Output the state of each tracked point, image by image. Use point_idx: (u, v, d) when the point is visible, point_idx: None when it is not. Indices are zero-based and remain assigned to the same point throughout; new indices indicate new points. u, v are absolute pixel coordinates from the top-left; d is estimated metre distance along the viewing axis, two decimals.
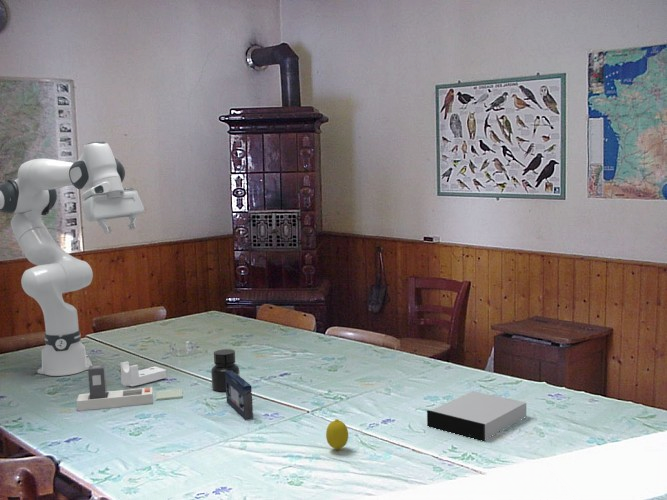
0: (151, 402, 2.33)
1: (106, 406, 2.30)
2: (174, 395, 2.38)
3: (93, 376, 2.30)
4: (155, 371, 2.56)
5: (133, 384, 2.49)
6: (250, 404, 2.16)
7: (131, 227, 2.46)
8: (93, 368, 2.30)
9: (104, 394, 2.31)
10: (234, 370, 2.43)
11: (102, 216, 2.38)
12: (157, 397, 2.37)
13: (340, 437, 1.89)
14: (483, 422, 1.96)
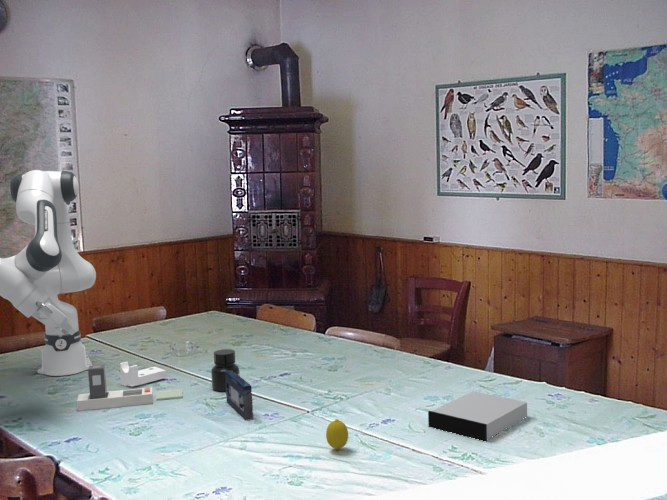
0: (151, 402, 2.33)
1: (106, 406, 2.30)
2: (174, 395, 2.38)
3: (93, 376, 2.30)
4: (154, 372, 2.56)
5: (133, 384, 2.49)
6: (250, 404, 2.16)
7: None
8: (93, 368, 2.30)
9: (104, 394, 2.31)
10: (234, 370, 2.43)
11: (49, 326, 2.32)
12: (157, 397, 2.37)
13: (340, 437, 1.89)
14: (484, 423, 1.96)
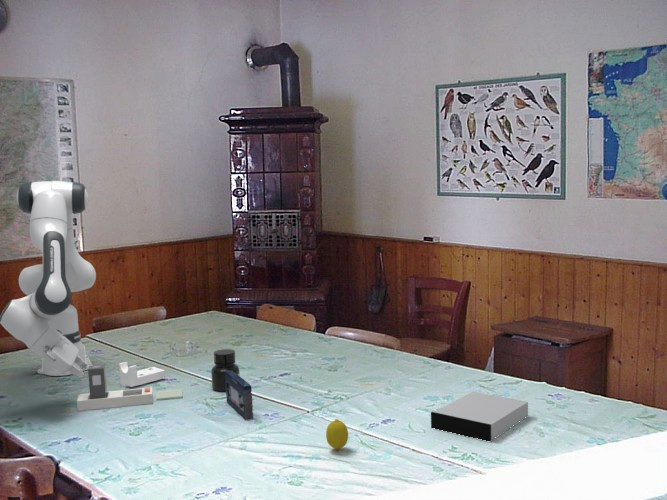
0: (151, 402, 2.33)
1: (106, 406, 2.30)
2: (174, 395, 2.38)
3: (93, 376, 2.30)
4: (153, 372, 2.55)
5: (132, 385, 2.49)
6: (250, 404, 2.16)
7: None
8: (93, 368, 2.30)
9: (104, 394, 2.31)
10: (234, 370, 2.43)
11: None
12: (157, 397, 2.37)
13: (340, 437, 1.89)
14: (488, 423, 1.95)
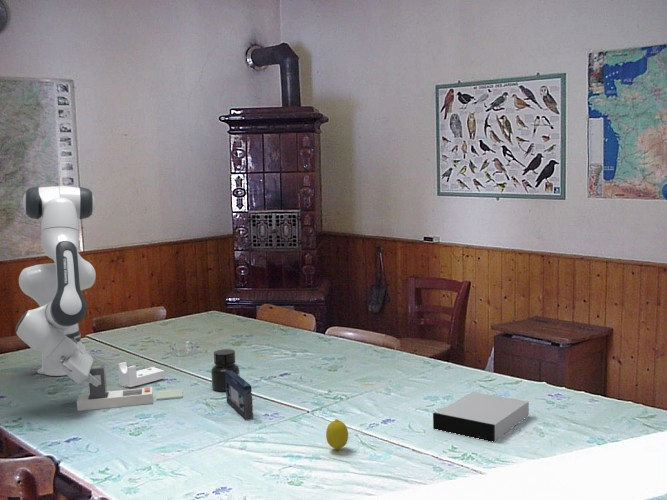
0: (151, 402, 2.33)
1: (106, 406, 2.30)
2: (174, 395, 2.38)
3: (93, 376, 2.30)
4: (153, 372, 2.55)
5: (131, 385, 2.49)
6: (250, 404, 2.16)
7: None
8: (93, 368, 2.30)
9: (104, 394, 2.31)
10: (234, 370, 2.43)
11: None
12: (157, 397, 2.37)
13: (340, 437, 1.89)
14: (492, 423, 1.95)
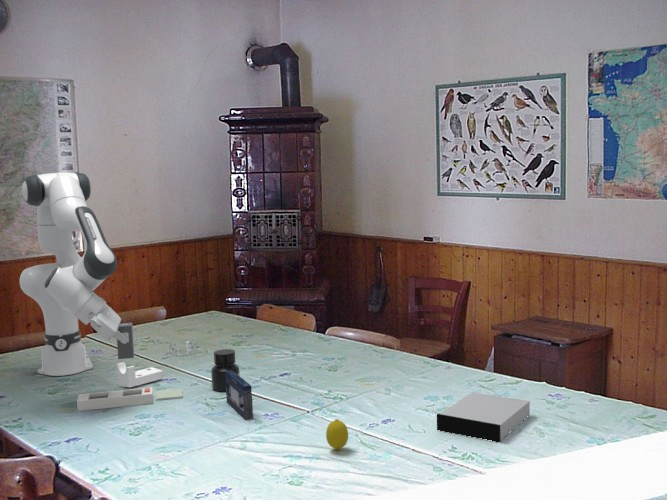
0: (151, 402, 2.33)
1: (106, 406, 2.30)
2: (174, 395, 2.38)
3: None
4: (152, 372, 2.55)
5: (130, 385, 2.48)
6: (250, 404, 2.16)
7: None
8: (121, 325, 2.31)
9: (132, 352, 2.32)
10: (234, 370, 2.43)
11: None
12: (157, 397, 2.37)
13: (340, 437, 1.89)
14: (497, 423, 1.95)
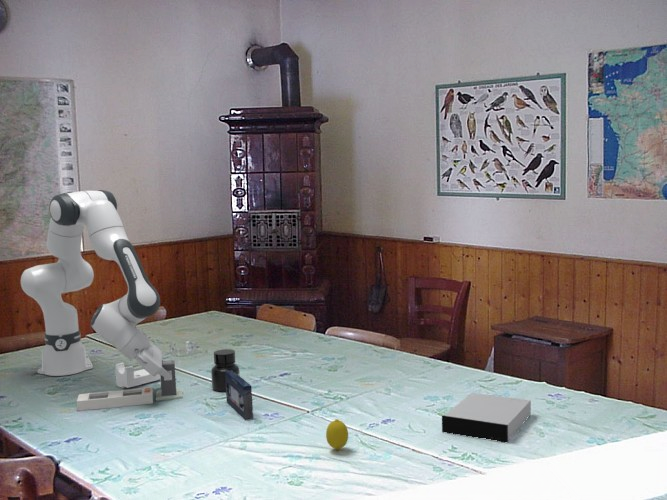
0: (151, 402, 2.33)
1: (106, 406, 2.30)
2: (174, 395, 2.38)
3: None
4: None
5: (128, 385, 2.48)
6: (250, 404, 2.16)
7: None
8: (164, 364, 2.38)
9: (175, 389, 2.39)
10: (234, 370, 2.43)
11: None
12: (157, 397, 2.37)
13: (340, 437, 1.89)
14: (504, 423, 1.95)
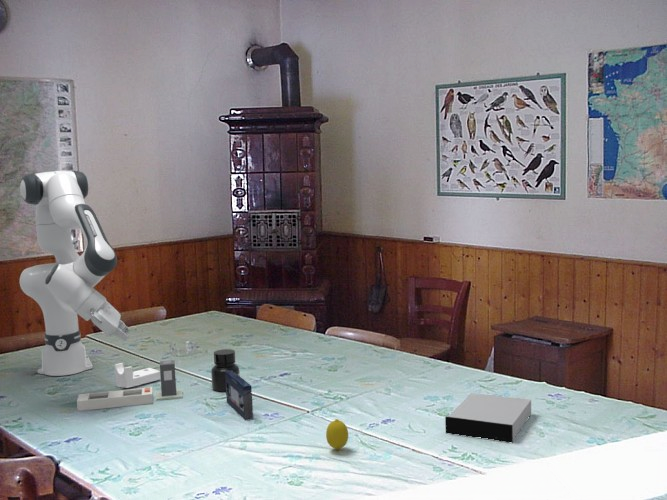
0: (151, 402, 2.33)
1: (106, 406, 2.30)
2: (174, 395, 2.38)
3: (164, 372, 2.37)
4: (149, 373, 2.54)
5: (127, 386, 2.48)
6: (250, 404, 2.16)
7: None
8: (164, 364, 2.38)
9: (175, 389, 2.39)
10: (234, 370, 2.43)
11: None
12: (157, 397, 2.37)
13: (340, 437, 1.89)
14: (509, 424, 1.95)
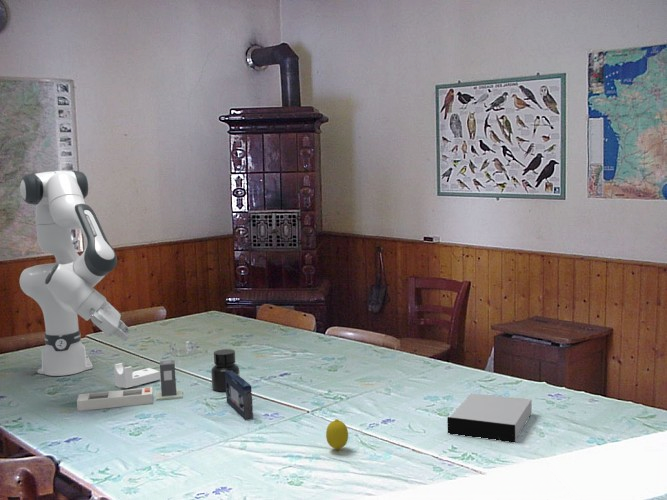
0: (151, 402, 2.33)
1: (106, 406, 2.30)
2: (174, 395, 2.38)
3: (164, 372, 2.37)
4: (149, 373, 2.54)
5: (127, 386, 2.48)
6: (250, 404, 2.16)
7: None
8: (164, 364, 2.38)
9: (175, 389, 2.39)
10: (234, 370, 2.43)
11: None
12: (157, 397, 2.37)
13: (340, 437, 1.89)
14: (511, 423, 1.95)
